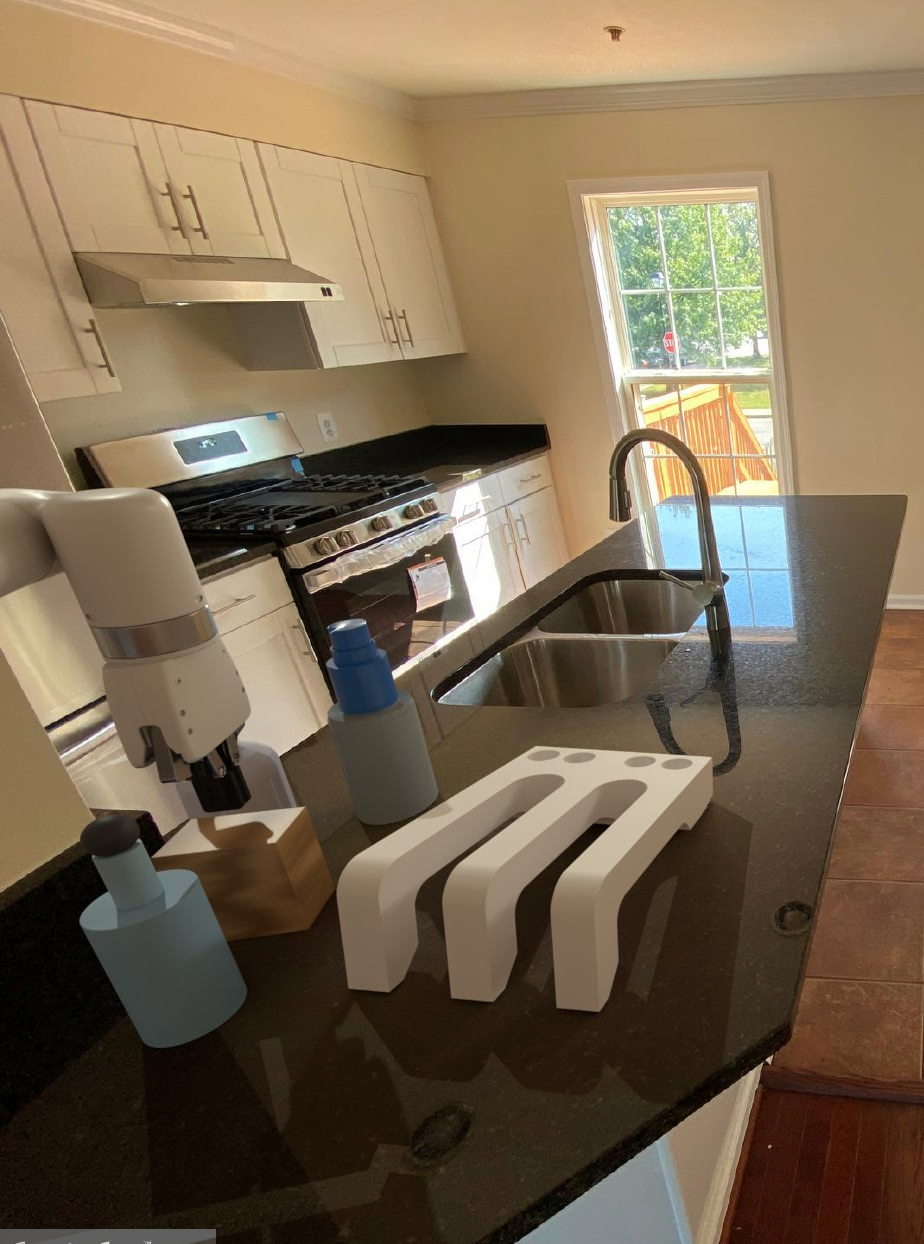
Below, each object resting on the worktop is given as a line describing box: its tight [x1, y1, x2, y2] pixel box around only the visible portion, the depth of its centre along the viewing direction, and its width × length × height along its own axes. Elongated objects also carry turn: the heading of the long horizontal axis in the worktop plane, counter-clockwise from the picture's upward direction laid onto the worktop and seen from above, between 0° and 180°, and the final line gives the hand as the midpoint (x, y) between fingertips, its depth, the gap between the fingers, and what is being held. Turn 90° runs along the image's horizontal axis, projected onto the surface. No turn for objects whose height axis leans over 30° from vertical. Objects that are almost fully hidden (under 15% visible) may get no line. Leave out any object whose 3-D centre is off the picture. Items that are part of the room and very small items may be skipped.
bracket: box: [336, 745, 714, 1013], centre depth 79 cm, size 24×12×32 cm
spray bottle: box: [325, 618, 439, 826], centre depth 87 cm, size 9×9×25 cm
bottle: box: [79, 814, 248, 1049], centre depth 59 cm, size 13×7×20 cm, turn 13°
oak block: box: [150, 806, 336, 943], centre depth 72 cm, size 10×6×11 cm, turn 104°
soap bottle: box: [173, 738, 298, 821], centre depth 81 cm, size 9×9×25 cm
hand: (228, 805), depth 69 cm, fingers closed
